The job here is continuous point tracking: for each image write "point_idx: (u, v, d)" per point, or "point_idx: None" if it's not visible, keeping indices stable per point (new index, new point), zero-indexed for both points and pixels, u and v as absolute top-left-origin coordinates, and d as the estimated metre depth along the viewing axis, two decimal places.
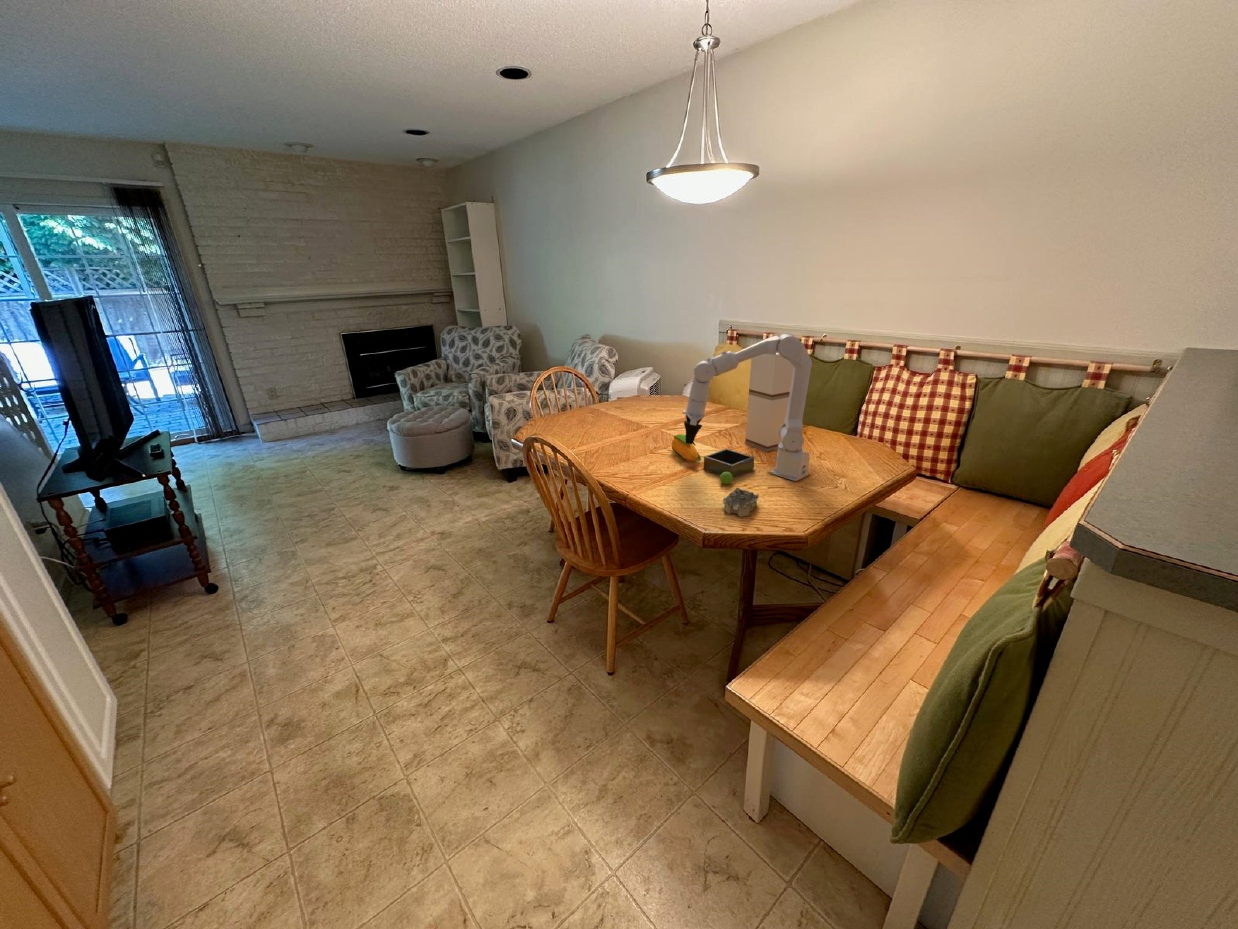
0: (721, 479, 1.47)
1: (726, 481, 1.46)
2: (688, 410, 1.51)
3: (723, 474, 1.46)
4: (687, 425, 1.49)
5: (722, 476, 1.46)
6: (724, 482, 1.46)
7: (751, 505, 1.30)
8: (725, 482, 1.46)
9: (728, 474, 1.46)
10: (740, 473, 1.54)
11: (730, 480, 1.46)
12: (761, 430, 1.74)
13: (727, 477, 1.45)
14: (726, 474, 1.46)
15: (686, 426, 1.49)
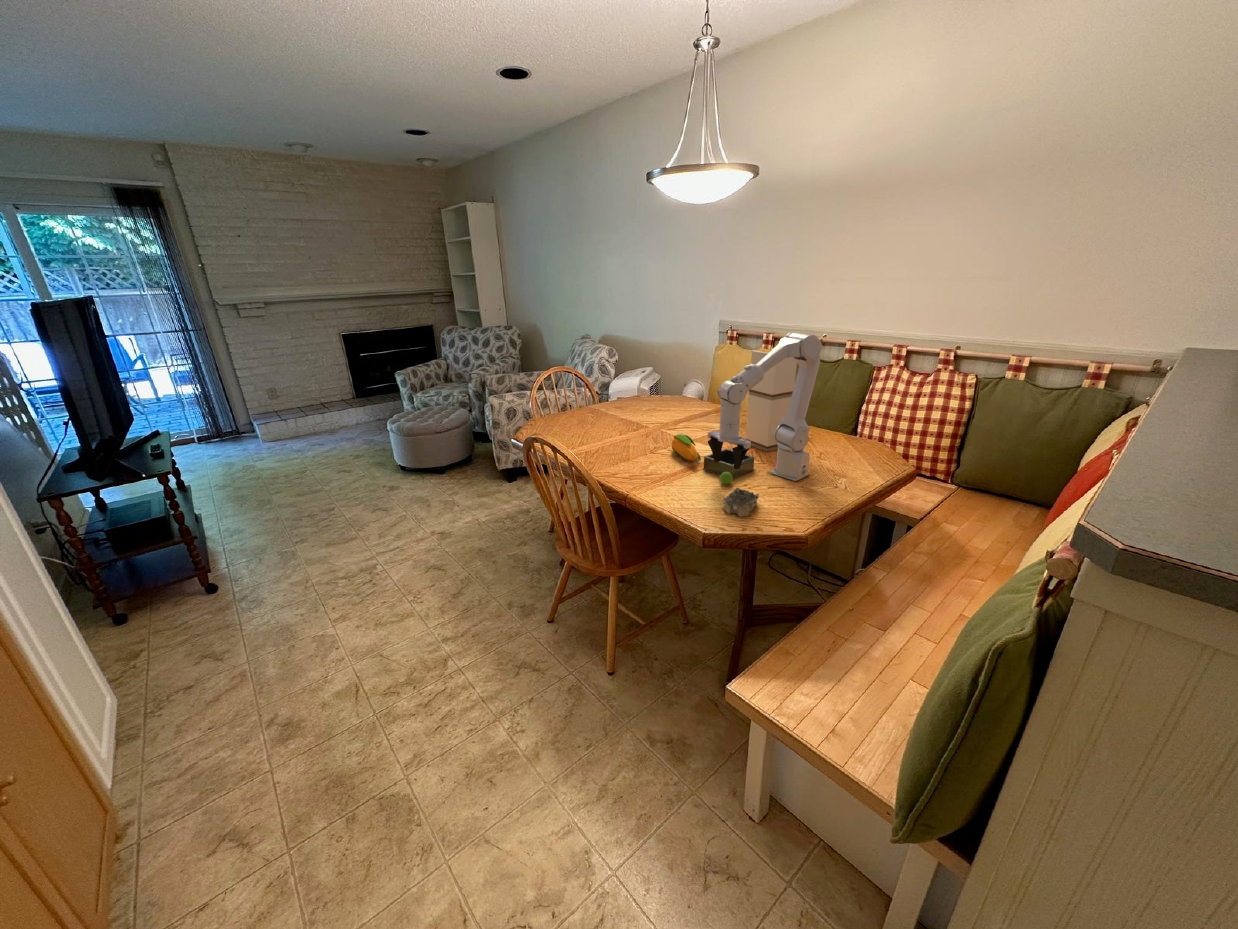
0: (721, 479, 1.47)
1: (726, 481, 1.46)
2: (728, 436, 1.40)
3: (723, 474, 1.46)
4: (741, 451, 1.38)
5: (722, 476, 1.46)
6: (724, 482, 1.46)
7: (751, 505, 1.30)
8: (725, 482, 1.46)
9: (728, 474, 1.46)
10: (740, 473, 1.54)
11: (730, 480, 1.46)
12: (761, 430, 1.74)
13: (727, 477, 1.45)
14: (726, 474, 1.46)
15: (740, 452, 1.38)
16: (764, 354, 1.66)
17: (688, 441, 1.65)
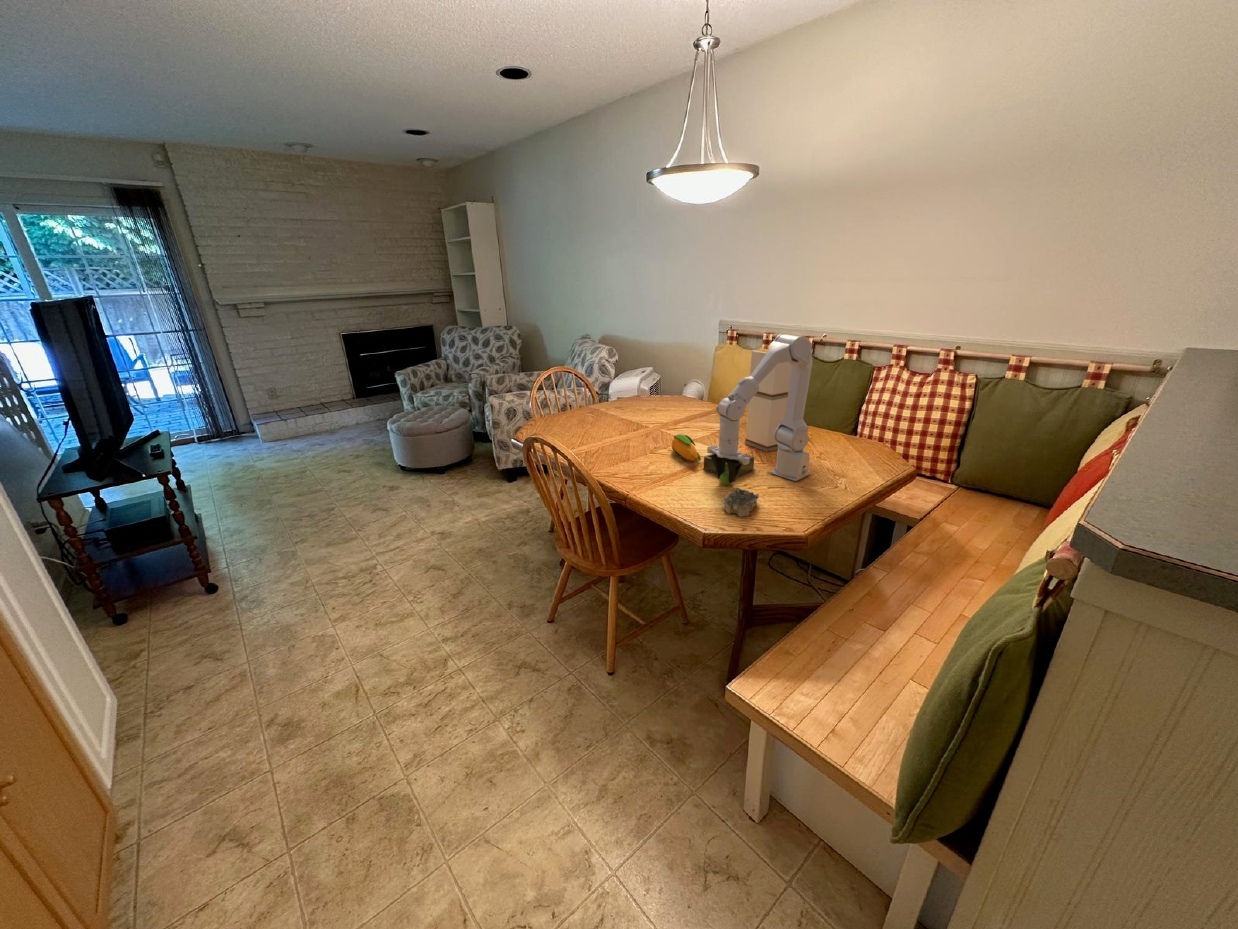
0: (721, 479, 1.47)
1: (726, 481, 1.46)
2: (727, 452, 1.41)
3: (723, 474, 1.46)
4: (735, 465, 1.41)
5: (722, 476, 1.46)
6: (724, 482, 1.46)
7: (751, 505, 1.30)
8: (725, 482, 1.46)
9: (728, 474, 1.46)
10: (740, 473, 1.54)
11: None
12: (761, 430, 1.74)
13: (728, 477, 1.45)
14: (726, 474, 1.46)
15: (734, 467, 1.41)
16: (764, 354, 1.66)
17: (688, 441, 1.65)
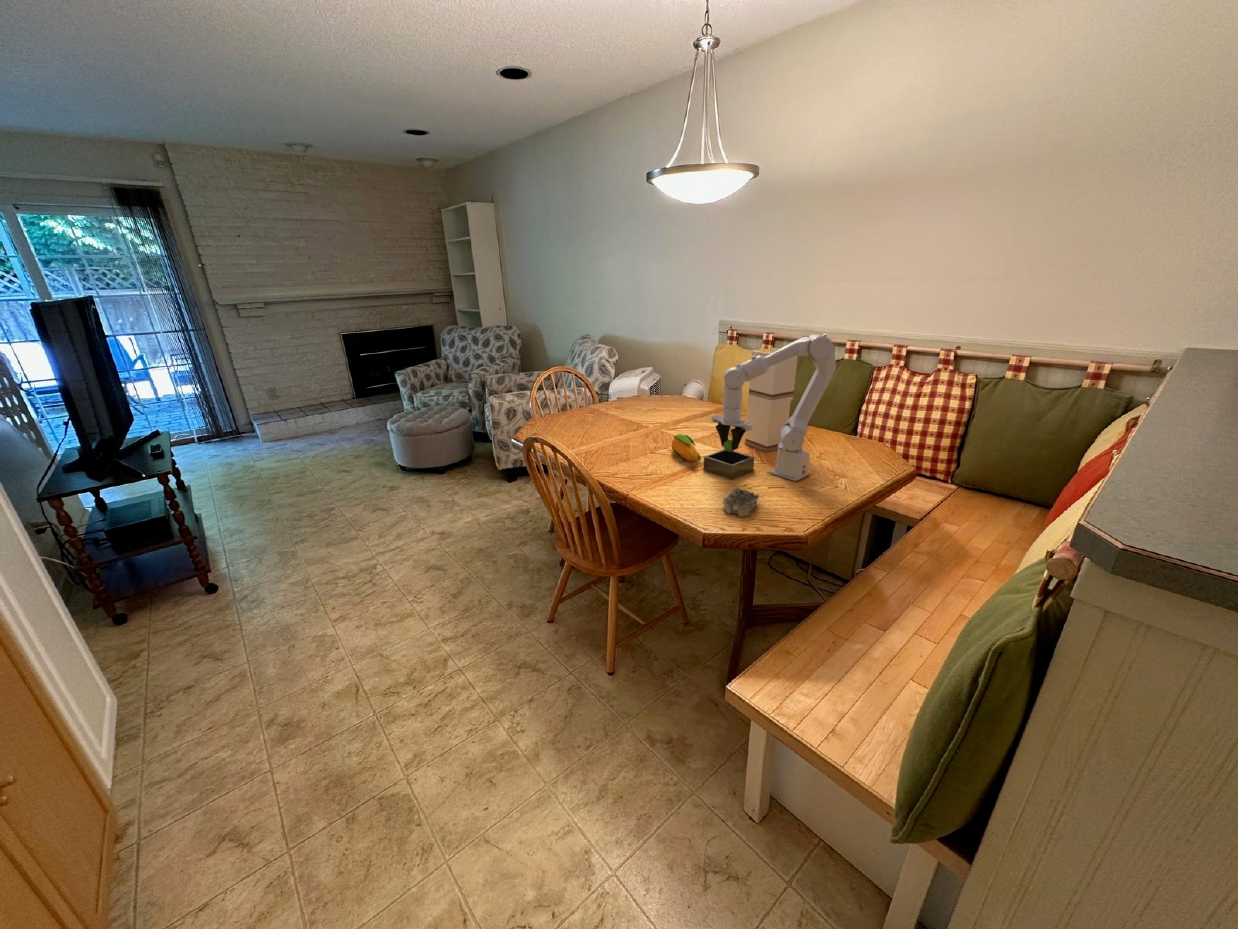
0: (725, 446, 1.54)
1: (729, 448, 1.53)
2: (731, 419, 1.49)
3: (727, 441, 1.54)
4: (738, 432, 1.48)
5: (726, 443, 1.53)
6: (728, 449, 1.53)
7: (751, 505, 1.30)
8: (729, 449, 1.53)
9: (731, 441, 1.53)
10: (740, 473, 1.54)
11: None
12: (761, 430, 1.74)
13: (731, 444, 1.53)
14: (730, 441, 1.53)
15: (737, 433, 1.49)
16: (764, 354, 1.66)
17: (688, 441, 1.65)
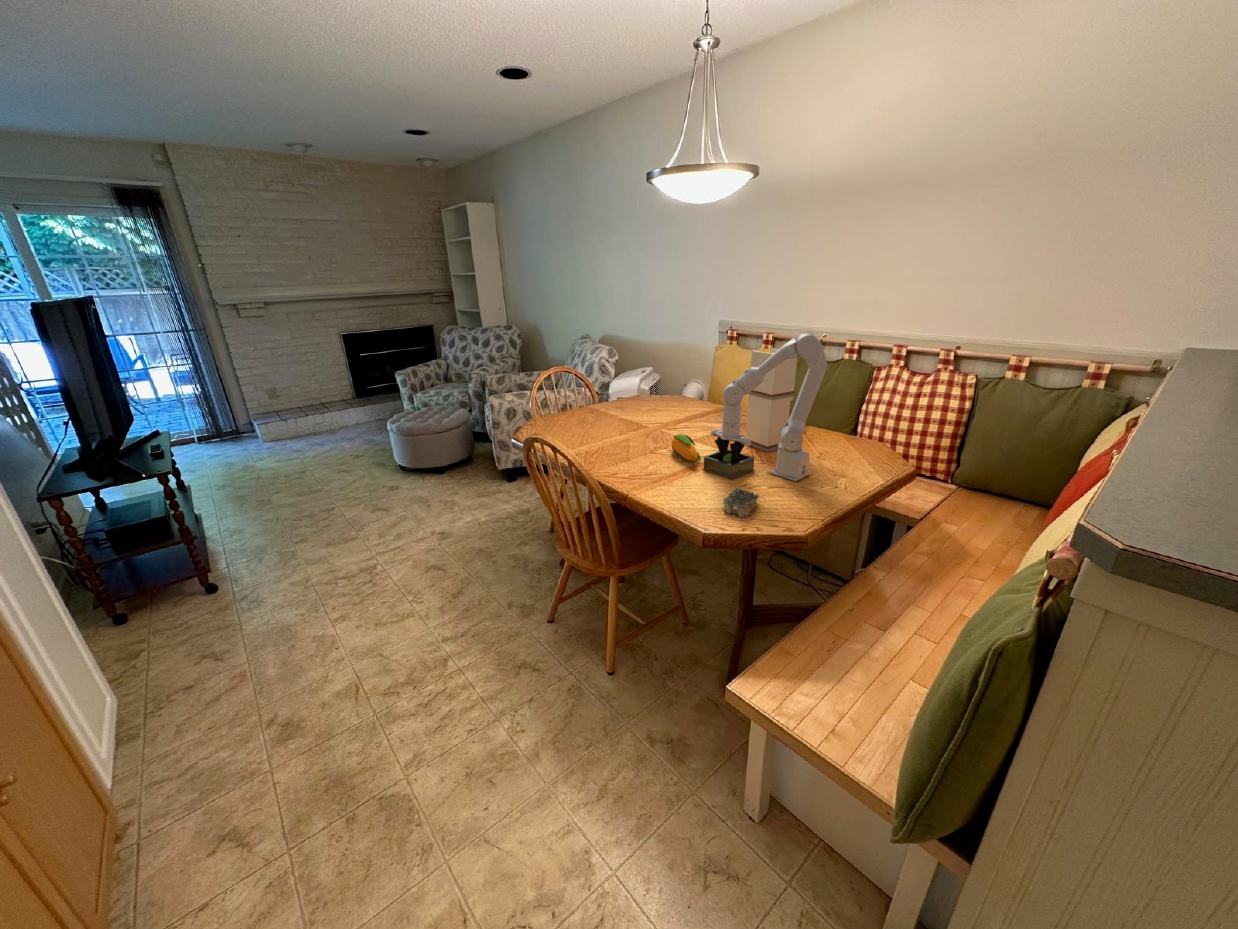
0: (724, 460, 1.57)
1: (728, 462, 1.56)
2: (730, 434, 1.52)
3: (726, 455, 1.57)
4: (737, 447, 1.52)
5: (725, 457, 1.57)
6: None
7: (751, 505, 1.30)
8: (728, 463, 1.56)
9: None
10: (740, 473, 1.54)
11: None
12: (761, 430, 1.74)
13: (730, 458, 1.56)
14: (729, 455, 1.56)
15: (736, 448, 1.52)
16: (764, 354, 1.66)
17: (688, 441, 1.65)
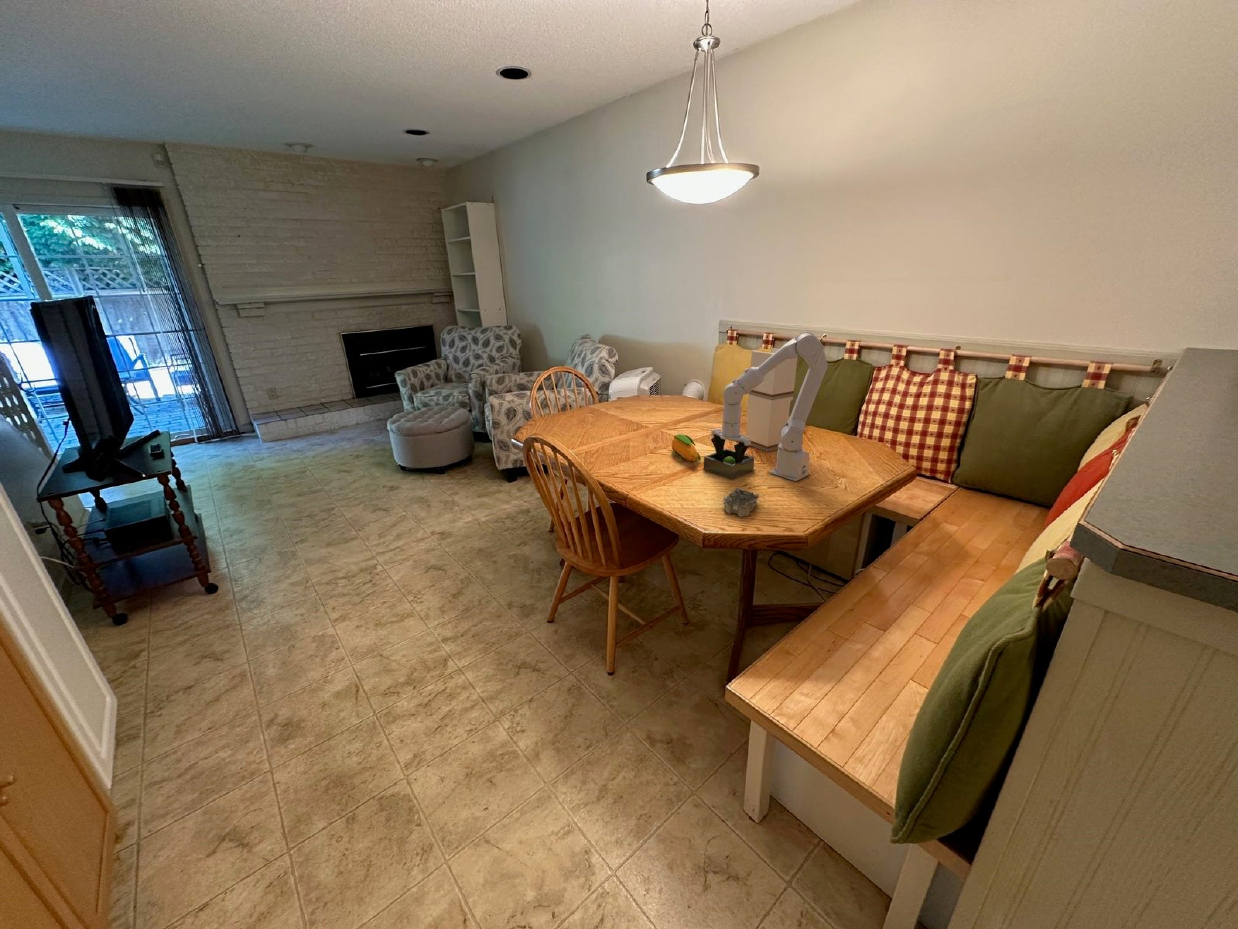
0: None
1: None
2: (730, 434, 1.52)
3: (727, 458, 1.57)
4: (742, 448, 1.50)
5: (725, 460, 1.57)
6: None
7: (751, 505, 1.30)
8: None
9: (731, 459, 1.57)
10: (740, 473, 1.54)
11: None
12: (761, 430, 1.74)
13: (731, 461, 1.56)
14: (729, 458, 1.56)
15: (741, 449, 1.50)
16: (764, 354, 1.66)
17: (688, 441, 1.65)
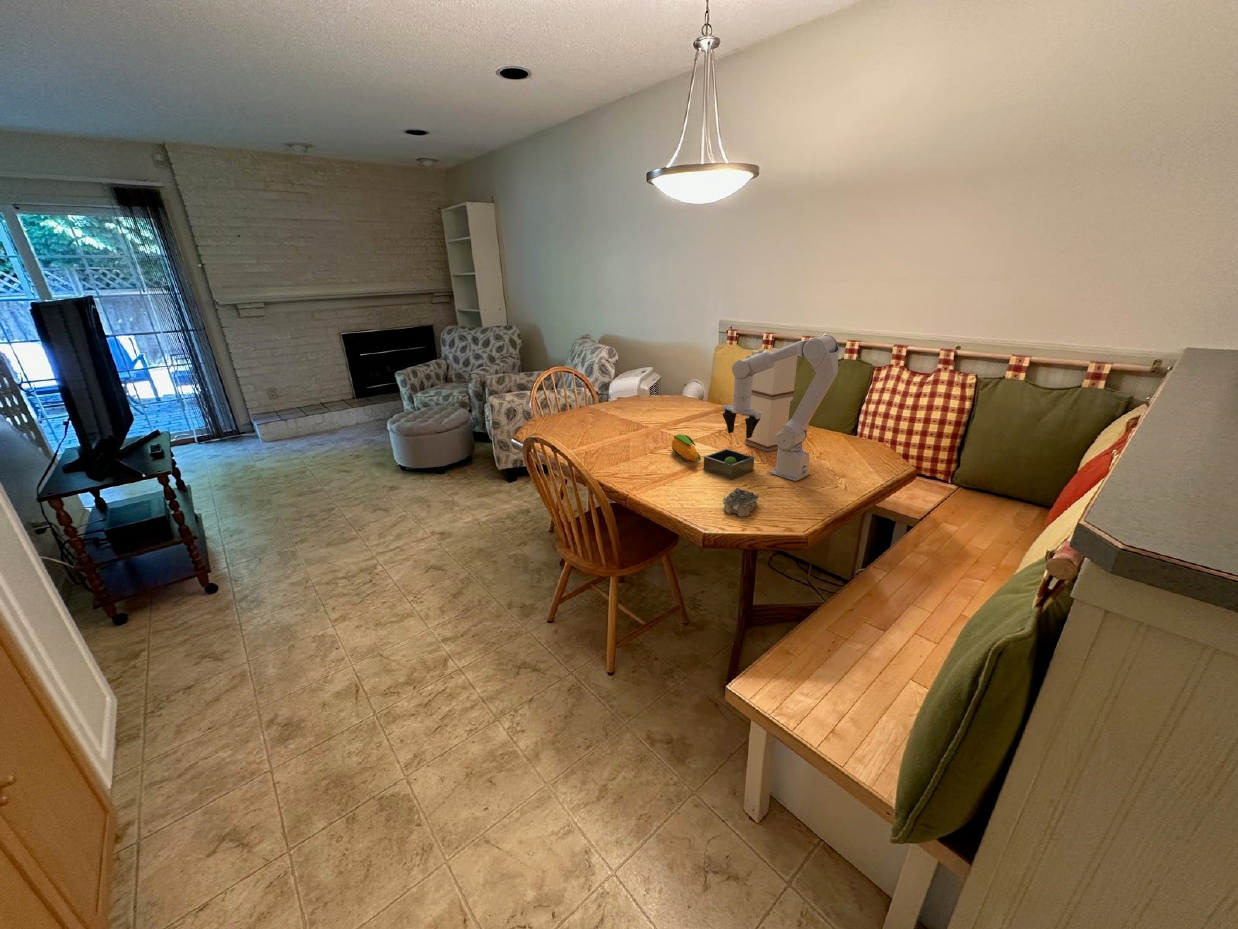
0: (726, 462, 1.57)
1: None
2: (741, 408, 1.57)
3: (729, 458, 1.57)
4: (752, 421, 1.55)
5: (727, 460, 1.57)
6: None
7: (751, 505, 1.30)
8: None
9: (733, 459, 1.56)
10: (740, 473, 1.54)
11: None
12: (761, 430, 1.74)
13: (732, 462, 1.56)
14: (731, 459, 1.56)
15: (751, 422, 1.56)
16: None
17: (688, 441, 1.65)
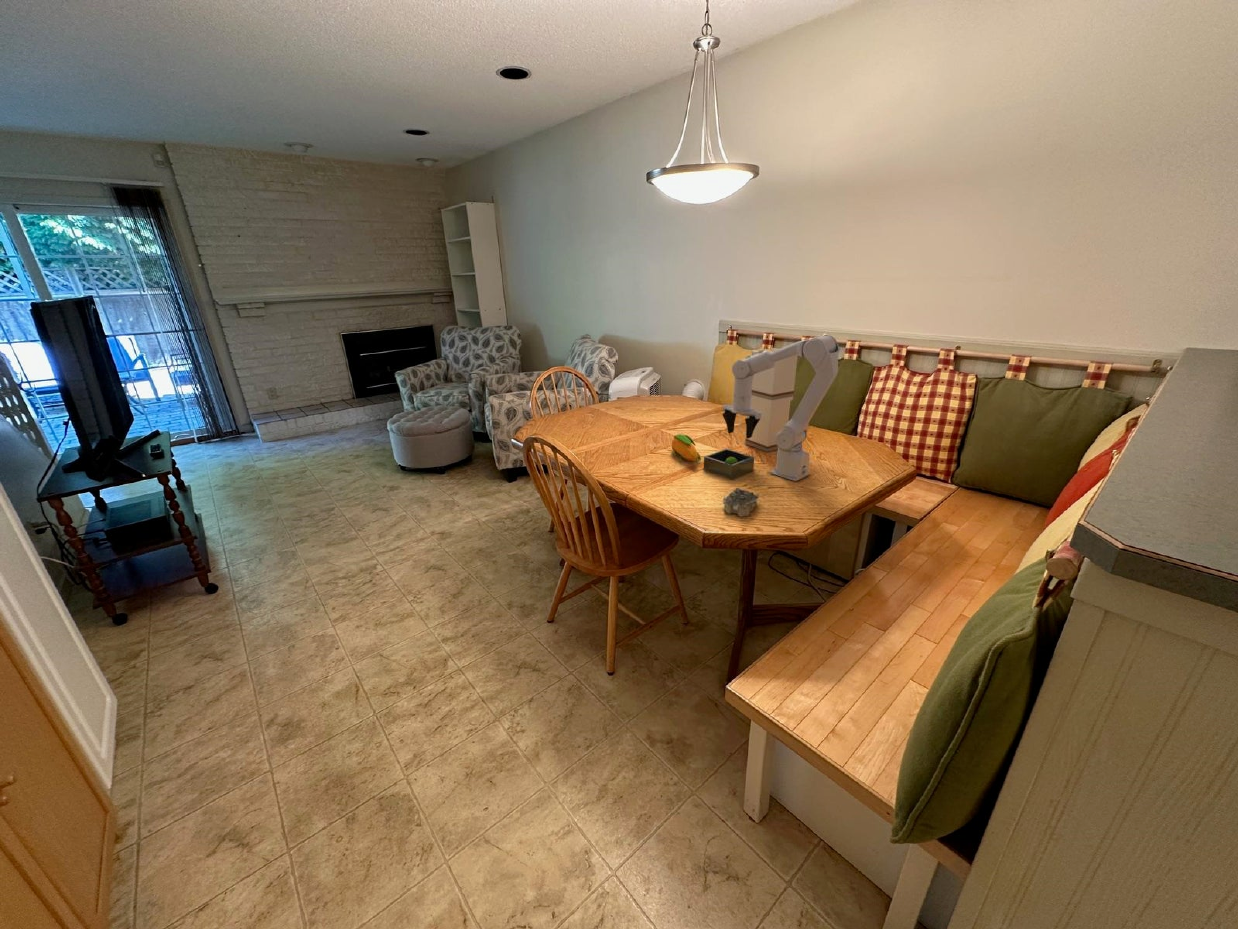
0: (727, 462, 1.57)
1: None
2: (741, 408, 1.57)
3: (731, 459, 1.56)
4: (752, 421, 1.55)
5: (729, 460, 1.56)
6: None
7: (751, 505, 1.30)
8: None
9: (735, 460, 1.56)
10: (740, 473, 1.54)
11: None
12: (761, 430, 1.74)
13: (733, 463, 1.56)
14: (733, 460, 1.56)
15: (751, 422, 1.56)
16: None
17: (688, 441, 1.65)
